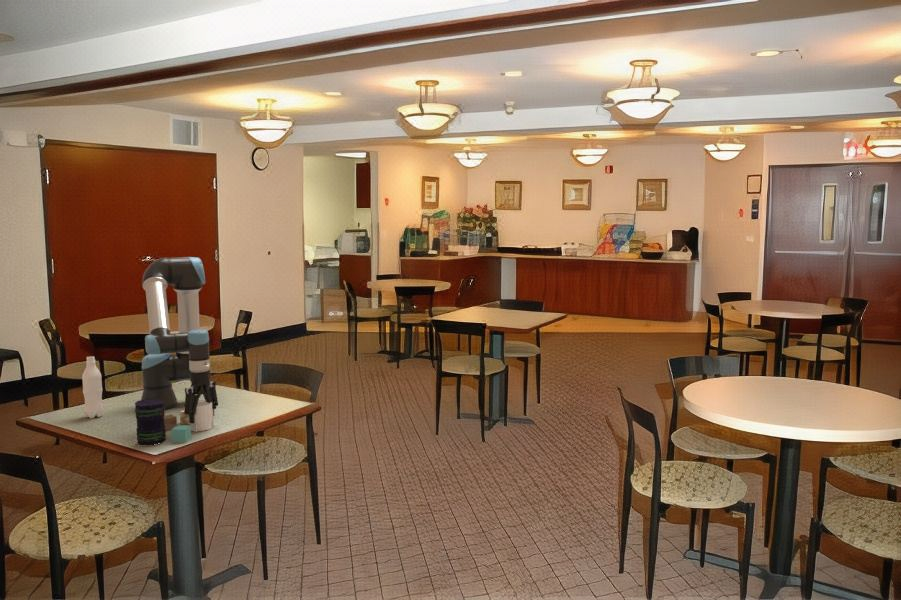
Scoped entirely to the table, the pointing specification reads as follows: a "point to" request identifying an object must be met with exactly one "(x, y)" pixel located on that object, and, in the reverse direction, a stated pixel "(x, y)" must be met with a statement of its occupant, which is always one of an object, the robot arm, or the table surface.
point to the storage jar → (150, 421)
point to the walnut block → (170, 422)
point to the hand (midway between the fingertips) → (202, 428)
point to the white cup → (204, 415)
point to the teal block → (181, 433)
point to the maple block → (184, 418)
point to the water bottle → (92, 389)
